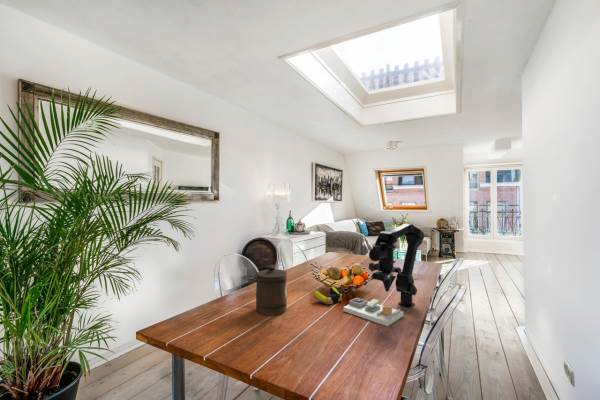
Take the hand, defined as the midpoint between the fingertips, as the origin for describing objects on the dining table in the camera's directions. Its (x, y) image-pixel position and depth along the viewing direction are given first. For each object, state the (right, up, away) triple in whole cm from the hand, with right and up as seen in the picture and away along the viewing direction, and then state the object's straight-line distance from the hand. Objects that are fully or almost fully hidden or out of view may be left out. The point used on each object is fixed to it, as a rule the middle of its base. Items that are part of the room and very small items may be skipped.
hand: (387, 291), depth 136 cm
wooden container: (-55, -11, +3) cm, 56 cm away
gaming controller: (-26, -11, +16) cm, 32 cm away
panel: (-7, -10, -1) cm, 12 cm away
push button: (-13, -8, +5) cm, 16 cm away
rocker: (-7, -6, -1) cm, 9 cm away
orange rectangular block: (-2, -8, -7) cm, 11 cm away
